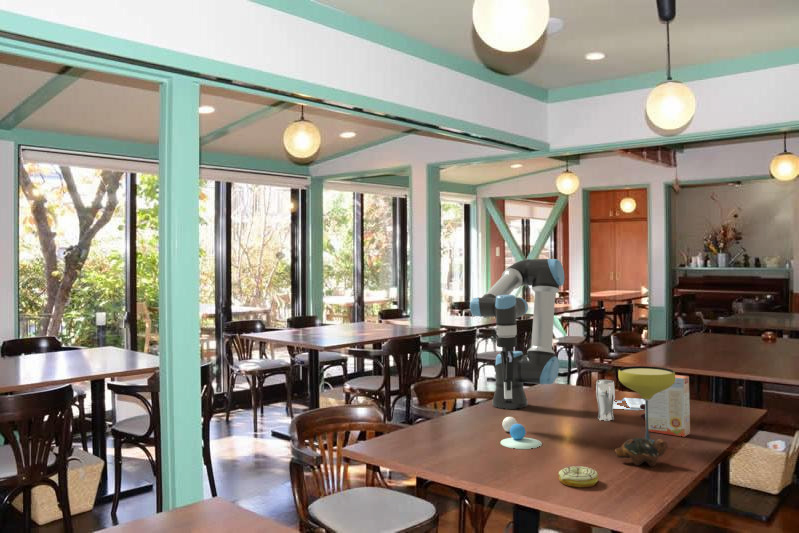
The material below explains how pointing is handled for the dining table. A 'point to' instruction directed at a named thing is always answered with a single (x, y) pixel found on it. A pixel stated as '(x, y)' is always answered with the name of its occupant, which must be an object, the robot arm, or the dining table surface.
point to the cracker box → (670, 409)
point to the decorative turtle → (642, 450)
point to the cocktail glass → (646, 382)
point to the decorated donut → (578, 476)
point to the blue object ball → (517, 431)
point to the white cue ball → (508, 423)
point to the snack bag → (630, 404)
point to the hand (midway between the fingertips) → (508, 398)
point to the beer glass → (605, 399)
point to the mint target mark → (521, 443)
